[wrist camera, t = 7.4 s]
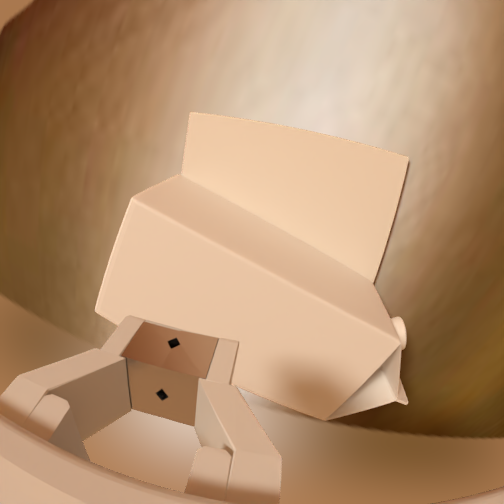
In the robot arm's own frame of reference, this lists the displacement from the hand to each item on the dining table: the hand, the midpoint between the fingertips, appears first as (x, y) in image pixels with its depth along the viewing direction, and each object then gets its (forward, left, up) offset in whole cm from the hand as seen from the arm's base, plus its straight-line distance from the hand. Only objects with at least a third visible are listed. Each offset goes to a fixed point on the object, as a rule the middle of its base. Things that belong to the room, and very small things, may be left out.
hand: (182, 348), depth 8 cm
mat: (-3, +1, -14) cm, 14 cm away
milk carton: (+6, +1, -10) cm, 12 cm away
